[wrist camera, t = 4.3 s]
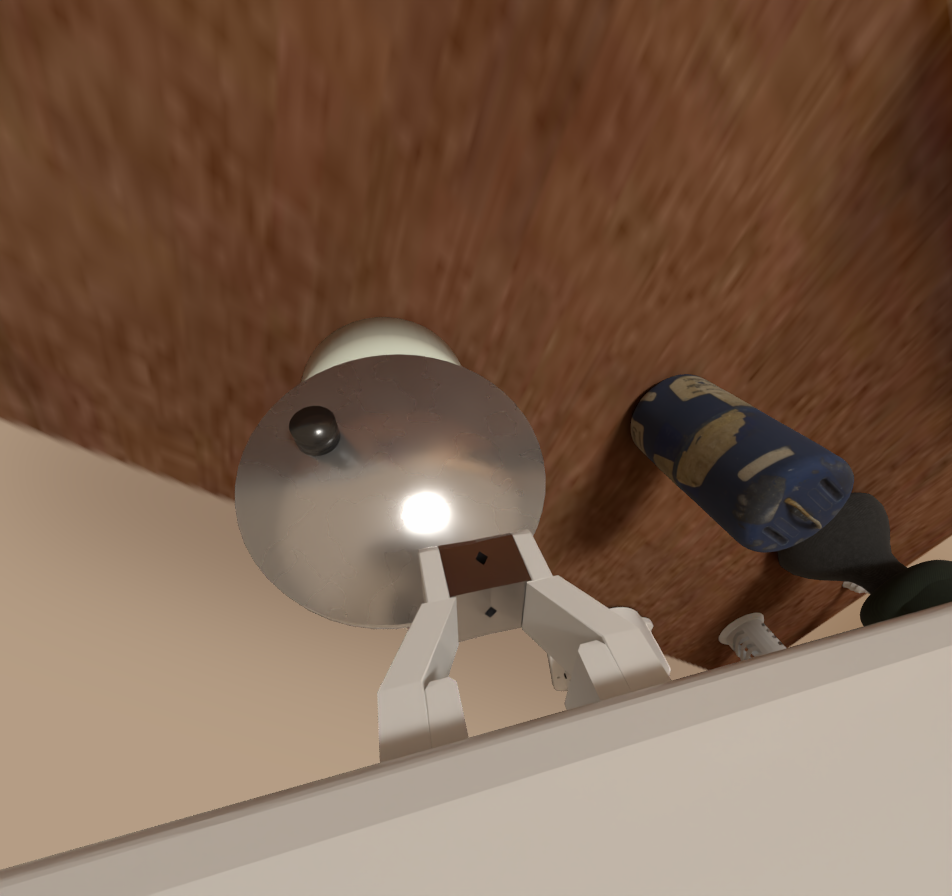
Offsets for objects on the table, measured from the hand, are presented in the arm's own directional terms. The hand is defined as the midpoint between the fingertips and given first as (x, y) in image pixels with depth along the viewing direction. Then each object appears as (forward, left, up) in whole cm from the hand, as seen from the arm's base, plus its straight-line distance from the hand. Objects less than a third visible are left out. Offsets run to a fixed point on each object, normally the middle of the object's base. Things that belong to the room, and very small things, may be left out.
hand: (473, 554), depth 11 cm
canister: (-13, -27, -26) cm, 40 cm away
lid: (-4, +2, -9) cm, 10 cm away
